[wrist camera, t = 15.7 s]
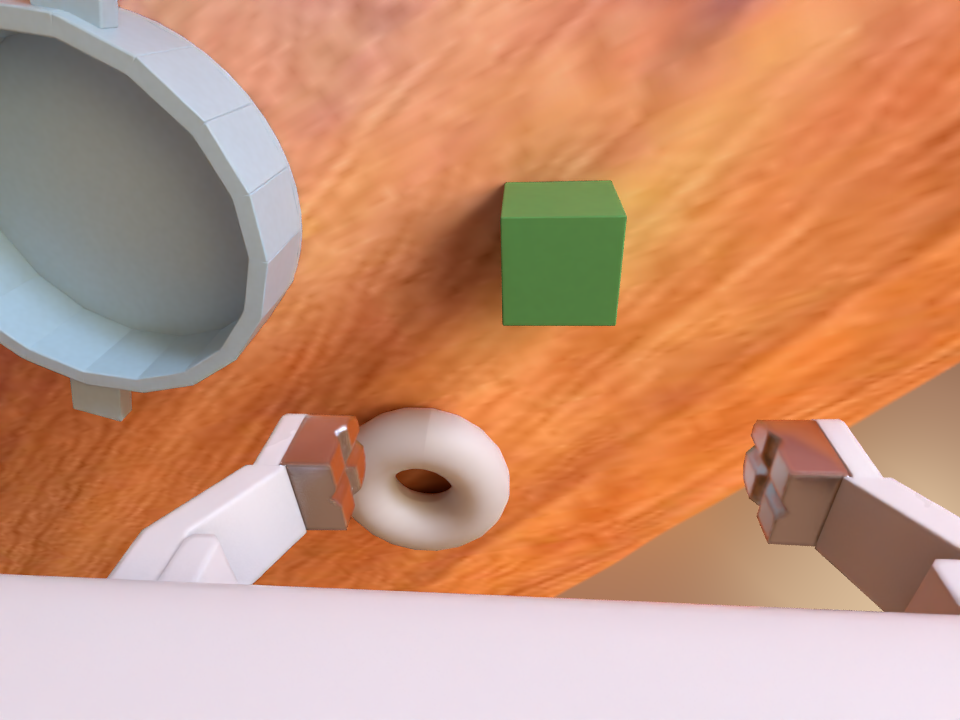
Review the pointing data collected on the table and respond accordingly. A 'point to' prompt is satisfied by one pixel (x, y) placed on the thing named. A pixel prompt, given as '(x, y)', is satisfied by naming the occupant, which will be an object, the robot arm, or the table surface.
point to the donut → (439, 449)
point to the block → (561, 253)
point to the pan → (132, 204)
